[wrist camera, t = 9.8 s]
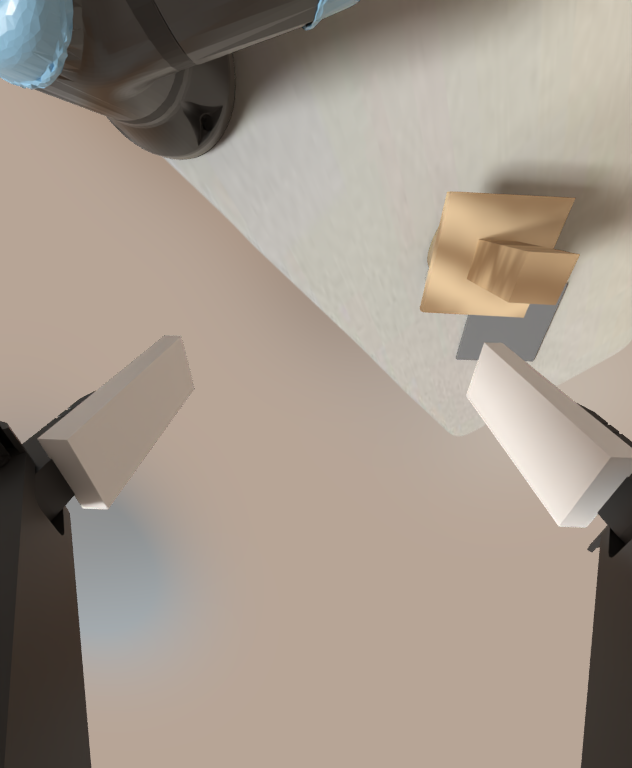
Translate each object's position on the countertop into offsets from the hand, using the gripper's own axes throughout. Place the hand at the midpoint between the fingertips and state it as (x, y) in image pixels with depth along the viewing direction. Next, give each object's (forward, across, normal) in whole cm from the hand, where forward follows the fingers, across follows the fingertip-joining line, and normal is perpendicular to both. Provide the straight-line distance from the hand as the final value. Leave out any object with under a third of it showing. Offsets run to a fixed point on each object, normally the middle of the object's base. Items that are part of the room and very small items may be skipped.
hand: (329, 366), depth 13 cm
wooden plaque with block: (+24, +17, +1) cm, 30 cm away
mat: (+32, +27, -9) cm, 43 cm away
